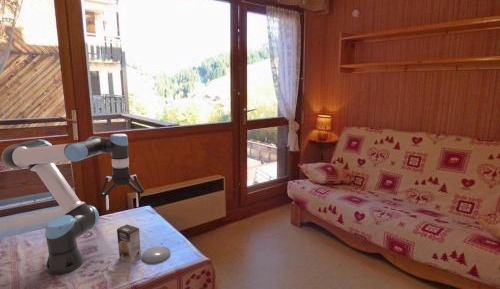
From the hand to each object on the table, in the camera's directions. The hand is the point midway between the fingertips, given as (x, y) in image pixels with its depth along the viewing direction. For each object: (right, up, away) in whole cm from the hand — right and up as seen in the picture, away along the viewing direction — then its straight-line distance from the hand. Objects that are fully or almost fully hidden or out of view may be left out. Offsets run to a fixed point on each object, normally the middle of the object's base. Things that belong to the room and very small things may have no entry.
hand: (122, 207), depth 146 cm
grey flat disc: (+15, -26, +5) cm, 30 cm away
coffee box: (+2, -26, +3) cm, 27 cm away
